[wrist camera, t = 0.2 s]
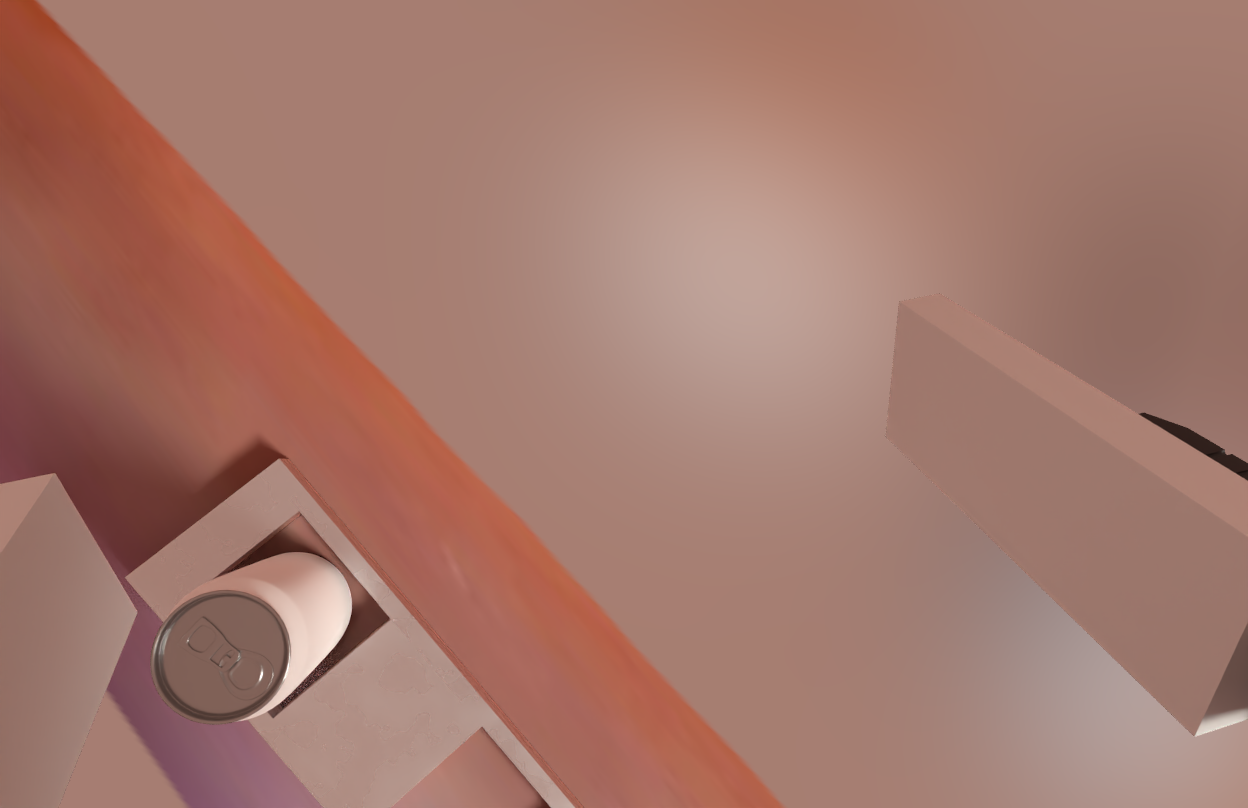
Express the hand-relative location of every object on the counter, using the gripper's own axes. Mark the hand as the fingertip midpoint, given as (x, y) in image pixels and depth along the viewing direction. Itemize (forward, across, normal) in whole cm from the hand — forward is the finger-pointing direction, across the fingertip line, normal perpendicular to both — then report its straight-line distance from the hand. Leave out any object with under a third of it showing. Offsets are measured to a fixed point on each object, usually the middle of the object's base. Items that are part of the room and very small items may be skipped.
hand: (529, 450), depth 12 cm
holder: (+22, +10, +30) cm, 39 cm away
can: (+26, +14, +24) cm, 38 cm away
